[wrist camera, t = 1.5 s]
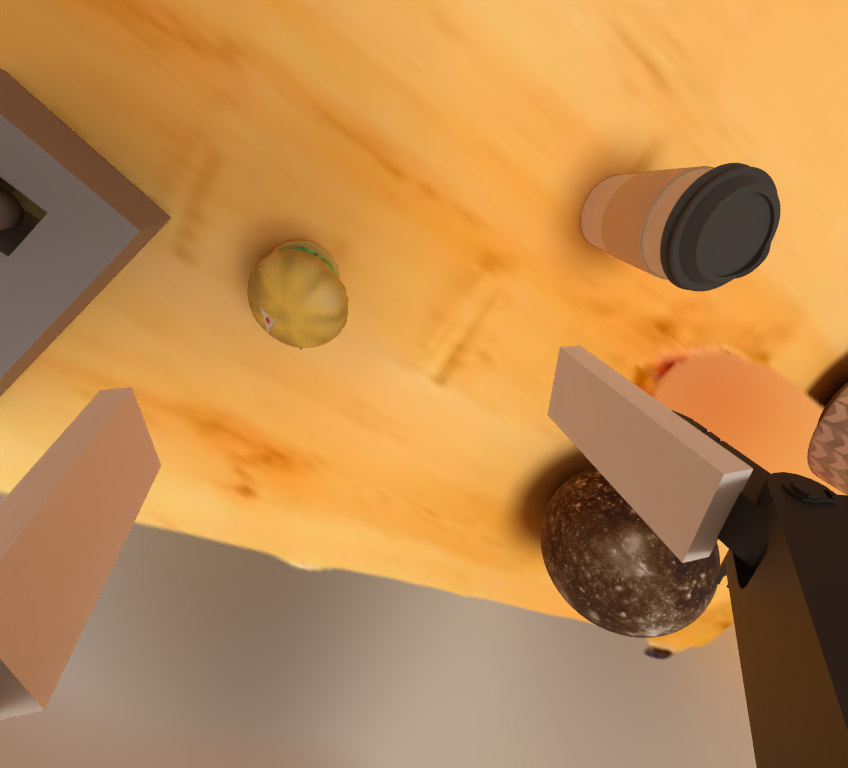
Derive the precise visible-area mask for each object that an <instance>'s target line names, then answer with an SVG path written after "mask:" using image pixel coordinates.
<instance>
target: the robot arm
mask: <svg viewBox="0 0 848 768" xmlns="http://www.w3.org/2000/svg"><path fill="white" fill-rule="evenodd" d="M548 416H549V417H550V418H551V419H552V420H553V421H554V422H555V424H556V425H557V426H558V427H559V428H560V429H561V430H562V431H563V432H564V433H565V435H566V436H567V437H568V438H569V439H570V440H571V441H572V442H573V443H574V444H575V446H576V447H577V448H578V449H579V450H580V451H581V452H582V453H583V454H584V455H585V457H586V458H587V459H588V460H589V461H590V462H591V463H592V464H593V465H594V466H595V467H596V469H597V470H598V471H599V472H600V473H601V474H602V475H603V476H604V477H605V478H606V480H607V481H608V482H609V483H610V484H611V485H612V486H613V487H614V488H615V489H616V491H617V492H618V493H619V494H620V495H621V496H622V497H623V498H624V499H625V500H626V502H627V503H628V504H629V505H630V506H631V507H632V508H633V509H634V510H635V511H636V513H637V514H638V515H639V516H640V517H641V518H642V519H643V520H644V521H645V522H646V524H647V525H648V526H649V527H650V528H651V529H652V530H653V531H654V532H655V533H656V534H657V536H658V537H659V538H660V539H661V540H662V541H663V542H664V543H665V544H666V545H667V547H668V548H669V549H670V550H671V551H672V552H673V553H674V554H675V555H676V556H677V558H678V559H679V560H680V561H681V562H682V563H684V562H689V561H693V560H697V559H702V558H706V557H709V556H710V554H711V552H712V550H713V548H714V546H715V544H716V542H717V540H718V539H719V540H720V541H721V542H723V543H724V544H725V545H726V546H727V547H728V548H729V550H728V552H727V554H726V556H725V558H724V560H723V562H722V563H721V565H720V567H719V569H718V571H717V573H716V575H715V578H714V583H716V584H720V582H721V580H722V578H723V577H724V576H726V575H727V579H728V585H727V588H729V592H730V598H731V605H732V611H733V617H734V624H735V630H736V637H737V643H738V650H739V656H740V662H741V669H742V675H743V682H744V688H745V695H746V701H747V708H748V714H749V721H750V726H751V733H752V740H753V746H754V753H755V759H756V766H757V768H848V496H847V495H837V494H835V493H834V492H833V491H831V490H830V489H828V488H827V487H825V486H824V485H822V484H820V483H818V482H816V481H814V480H812V479H809V478H806V477H803V476H800V475H797V474H791V473H785V472H780V473H773V474H770V473H769V472H767V471H766V470H765V469H763V468H762V467H760V466H759V465H757V464H756V463H755V462H753V461H752V460H750V459H749V458H747V457H746V456H744V455H743V454H741V453H740V452H739V451H737V450H736V449H734V448H733V447H731V446H730V445H729V444H727V443H725V442H724V441H720V438H718V437H717V436H715V435H714V434H713V433H711V432H707V429H706V428H704V427H703V426H701V425H700V424H698V423H697V422H695V421H694V420H693V419H691V418H689V417H687V416H684V415H682V414H680V413H677V412H675V411H673V410H670V409H669V408H667V407H666V406H664V405H663V404H661V403H660V402H659V401H657V400H656V399H655V398H653V397H652V396H650V395H649V394H648V393H646V392H645V391H643V390H642V389H640V388H639V387H638V386H636V385H635V384H633V383H632V382H631V381H629V380H628V379H626V378H625V377H624V376H622V375H621V374H619V373H618V372H617V371H615V370H614V369H612V368H611V367H609V366H608V365H607V364H605V363H604V362H602V361H601V360H600V359H598V358H597V357H595V356H594V355H593V354H591V353H590V352H588V351H587V350H586V349H584V348H583V347H581V346H569V347H560V350H559V355H558V361H557V366H556V372H555V377H554V382H553V388H552V393H551V399H550V404H549V410H548ZM160 467H161V464H160V461H159V458H158V456H157V453H156V450H155V448H154V445H153V442H152V440H151V437H150V434H149V432H148V429H147V426H146V424H145V421H144V419H143V416H142V413H141V411H140V408H139V405H138V403H137V400H136V397H135V395H134V392H133V389H132V388H121V389H110V390H100V391H99V393H98V394H97V395H96V396H95V397H94V398H93V399H92V401H91V402H90V403H89V404H88V405H87V406H86V407H85V408H84V410H83V411H82V412H81V413H80V414H79V415H78V416H77V417H76V419H75V420H74V421H73V422H72V423H71V424H70V425H69V427H68V428H67V429H66V430H65V431H64V432H63V433H62V434H61V436H60V437H59V438H58V439H57V440H56V441H55V442H54V444H53V445H52V446H51V447H50V448H49V449H48V450H47V451H46V453H45V454H44V455H43V456H42V457H41V458H40V459H39V460H38V462H37V463H36V464H35V465H34V466H33V467H32V468H31V470H30V471H29V472H28V473H27V474H26V475H25V476H24V477H23V479H22V480H21V481H20V482H19V483H18V484H17V485H16V487H15V488H14V489H13V490H12V491H11V492H10V493H9V494H8V496H7V497H6V498H5V499H4V500H3V501H2V502H1V503H0V720H2V719H7V718H11V717H16V716H20V715H24V714H29V713H33V712H37V711H42V710H44V709H45V708H46V705H47V703H48V701H49V699H50V697H51V695H52V693H53V691H54V689H55V687H56V684H57V683H58V680H59V678H60V676H61V674H62V672H63V670H64V668H65V666H66V664H67V662H68V659H69V657H70V655H71V653H72V651H73V649H74V647H75V645H76V642H77V641H78V638H79V636H80V634H81V632H82V630H83V628H84V626H85V624H86V622H87V620H88V617H89V615H90V613H91V611H92V609H93V607H94V605H95V603H96V601H97V599H98V597H99V594H100V592H101V590H102V588H103V586H104V584H105V582H106V580H107V578H108V575H109V573H110V571H111V569H112V567H113V565H114V563H115V561H116V559H117V557H118V554H119V553H120V550H121V548H122V546H123V544H124V542H125V540H126V538H127V536H128V534H129V532H130V529H131V527H132V525H133V523H134V521H135V519H136V517H137V515H138V513H139V511H140V508H141V506H142V504H143V502H144V500H145V498H146V496H147V494H148V492H149V490H150V488H151V485H152V483H153V481H154V479H155V477H156V475H157V473H158V471H159V469H160Z"/></svg>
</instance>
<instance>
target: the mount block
mask: <svg viewBox="0 0 848 768" xmlns="http://www.w3.org/2000/svg"><path fill="white" fill-rule="evenodd" d="M0 188H1V189H4V190H6V191H8V192H11V191H12V190H13V188H16V189H17V190H18V191H20V192H21V193H22V194H23V195H25V196H26V197H27V198H29V199H30V200H31V201H33V202H34V203H35V204H36V205H38V206H39V207H40V208H42V209H43V210H44V211H46V212H47V214H46V215H45V217H44V218H43V219H42V220H41V221H40V220H38V219H37V218H36V217H34V216H33V215H32V214H30V213H29V212H28V211H26V210H25V209H24V208H23V209H24V220H23V222H22V223H21V224H20V225H19V226H17V227H14V228H10V229H6V230H1V231H0V396H1V395H2V394H3V393H4V392H5V391H6V390H7V389H8V388H9V387H10V385H11V384H12V383H13V382H14V381H15V380H16V379H17V378H18V377H19V376H20V375H21V374H22V373H23V372H24V371H25V370H26V369H27V368H28V367H29V366H30V365H31V364H32V363H33V361H34V360H35V359H36V358H37V357H38V356H39V355H40V354H41V353H42V352H43V351H44V350H45V349H46V348H47V347H48V346H49V345H50V344H51V343H52V342H53V341H54V340H55V339H56V337H57V336H58V335H59V334H60V333H61V332H62V331H63V330H64V329H65V328H66V327H67V326H68V325H69V324H70V323H71V322H72V321H73V320H74V319H75V318H76V317H77V316H78V314H79V313H80V312H81V311H82V310H83V309H84V308H85V307H86V306H87V305H88V304H89V303H90V302H91V301H92V300H93V299H94V298H95V297H96V296H97V295H98V294H99V293H100V292H101V290H102V289H103V288H104V287H105V286H106V285H107V284H108V283H109V282H110V281H111V280H112V279H113V278H114V277H115V276H116V275H117V274H118V273H119V272H120V271H121V270H122V269H123V267H124V266H125V265H126V264H127V263H128V262H129V261H130V260H131V259H132V258H133V257H134V256H135V255H136V254H137V253H138V252H139V251H140V250H141V249H142V248H143V247H144V246H145V245H146V243H147V242H148V241H149V240H150V239H151V238H152V237H153V236H154V235H155V234H156V233H157V232H158V231H159V230H160V229H161V228H162V227H163V226H164V225H165V224H166V223H167V222H168V220H169V219H170V218H171V217H169V216H168V215H167V214H166V213H165V212H164V211H163V210H161V209H160V208H159V207H158V206H157V205H156V204H155V203H154V202H152V201H151V200H150V199H149V198H148V197H147V196H146V195H144V194H143V193H142V192H141V191H140V190H139V189H138V188H137V187H135V186H134V185H133V184H132V183H131V182H130V181H129V180H128V179H126V178H125V177H124V176H123V175H122V174H121V173H120V172H118V171H117V170H116V169H115V168H114V167H113V166H112V165H111V164H109V163H108V162H107V161H106V160H105V159H104V158H103V157H102V156H100V155H99V154H98V153H97V152H96V151H95V150H94V149H92V148H91V147H90V146H89V145H88V144H87V143H86V142H85V141H83V140H82V139H81V138H80V137H79V136H78V135H77V134H75V133H74V132H73V131H72V130H71V129H70V128H69V127H68V126H66V125H65V124H64V123H63V122H62V121H61V120H60V119H59V118H57V117H56V116H55V115H54V114H53V113H52V112H51V111H49V110H48V109H47V108H46V107H45V106H44V105H43V104H42V103H40V102H39V101H38V100H37V99H36V98H35V97H34V96H33V95H31V94H30V93H29V92H28V91H27V90H26V89H25V88H23V87H22V86H21V85H20V84H19V83H18V82H17V81H16V80H14V79H13V78H12V77H11V76H10V75H9V74H8V73H7V72H5V71H4V70H1V69H0Z"/></svg>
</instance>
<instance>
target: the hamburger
mask: <svg viewBox="0 0 848 768" xmlns="http://www.w3.org/2000/svg"><path fill="white" fill-rule="evenodd" d="M248 300H249V305H250V308H251V310H252V312H253V316H254V317H255V318H256V320H257V322H258V323H259V324H260V325H261V327H262V328H263V329H264V330H265V331H266V332H267V333H268V334H270V335H271V336H272V337H274V338H275V339H277V340H279V341H280V342H282V343H285V344H287V345H290V346H294V347H299V348H300V349H301V350H302V349H303V348H311V347H317V346H320V345H323V344H325V343H327V342H329V341H331V340H332V339H333V338H334V337H336V336H337V335H338V334H339V333H340V332H341V329H342V328H343V327H344V326H345V324H346V321H347V315H348V297H347V295H346V289H345V287H344V285H343V283H342V282H341V281H340V280H339V273H338V267H337V265H336V263H335V262H334V261H333V258H332V257H331V256H330V255H329V254H328V253H327V252H326V251H325V250H324V249H323V248H321V247H320V246H319V245H317V244H316V243H313V242H308V241H306V240H304V241H291V242H285V243H283V244H282V245H280V246H279V247H277V248H275V249H274V250H273V251H272V253H271V254H269V255H267V256H265V257H264V258H263V259H262V260H261V261H260V262H259V263H258V264H257V265H256V266H255V267H254V269H253V271H252V273H251V276H250V278H249V282H248Z"/></svg>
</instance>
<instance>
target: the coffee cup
mask: <svg viewBox="0 0 848 768" xmlns="http://www.w3.org/2000/svg"><path fill="white" fill-rule="evenodd" d="M779 219H780V202H779V198H778V195H777V190H776V186H775V184H774V182H773V180H772V178H771V177H770V176H769V175H768V174H767V173H766V172H765V171H763V170H761V169H759V168H755V167H750V166H748V165H745V164H741V163H729V164H724V165H721V166H718V167H716V168H713V167H708V166H701V167H690V168H679V169H668V170H657V171H647V172H642V173H639V174H628V175H616V176H612V177H609V178H607V179H605V180H603V181H602V182H600V183H599V184H598V185H597V186H596V187H595V188H594V189H593V190H592V191H591V193H590V194H589V196H588V197H587V199H586V201H585V203H584V206H583V209H582V213H581V230H582V233H583V236H584V237H585V239H586V240H587V241H588V242H589V243H590V244H591V245H593V246H595V247H597V248H600V249H602V250H604V251H606V252H609V253H610V254H611V255H612V256H614V257H615V258H617V259H620V260H622V261H624V262H626V263H628V264H630V265H633V266H635V267H637V268H639V269H641V270H643V271H646V272H648V273H650V274H652V275H654V276H656V277H659V278H662V279H668V280H669V281H670V282H671V283H673V284H674V285H675V286H677V287H679V288H682V289H686V290H692V291H708V290H712V289H715V288H718V287H720V286H722V285H724V284H726V283H728V282H729V281H731V280H732V279H735V278H739V277H743V276H745V275H747V274H749V273H751V272H752V271H753V270H755V269H756V268H757V267H758V266H759V265H760V264H761V263H762V262H763V261H764V260H765V259H766V257H767V255H768V253H769V250H770V245H771V241H772V239H773V237H774V235H775V232H776V230H777V227H778V223H779Z"/></svg>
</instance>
